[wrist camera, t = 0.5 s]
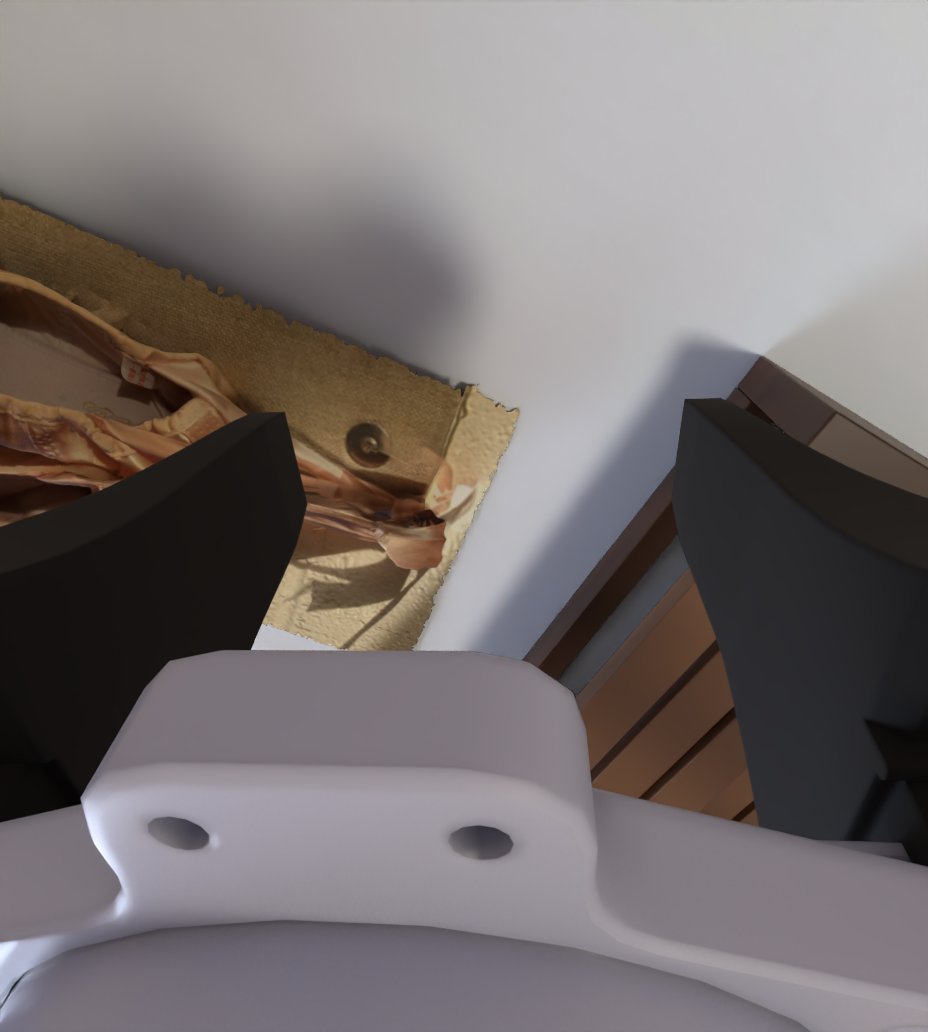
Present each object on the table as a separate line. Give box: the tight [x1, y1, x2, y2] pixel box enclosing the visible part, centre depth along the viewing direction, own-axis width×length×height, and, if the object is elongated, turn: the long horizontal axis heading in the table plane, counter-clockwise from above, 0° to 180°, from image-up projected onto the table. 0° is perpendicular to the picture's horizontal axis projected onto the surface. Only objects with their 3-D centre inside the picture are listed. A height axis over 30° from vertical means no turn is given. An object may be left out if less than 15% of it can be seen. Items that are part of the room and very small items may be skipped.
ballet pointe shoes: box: [0, 192, 519, 651], centre depth 20 cm, size 14×7×28 cm
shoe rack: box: [522, 356, 928, 827], centre depth 24 cm, size 22×13×6 cm, turn 151°
